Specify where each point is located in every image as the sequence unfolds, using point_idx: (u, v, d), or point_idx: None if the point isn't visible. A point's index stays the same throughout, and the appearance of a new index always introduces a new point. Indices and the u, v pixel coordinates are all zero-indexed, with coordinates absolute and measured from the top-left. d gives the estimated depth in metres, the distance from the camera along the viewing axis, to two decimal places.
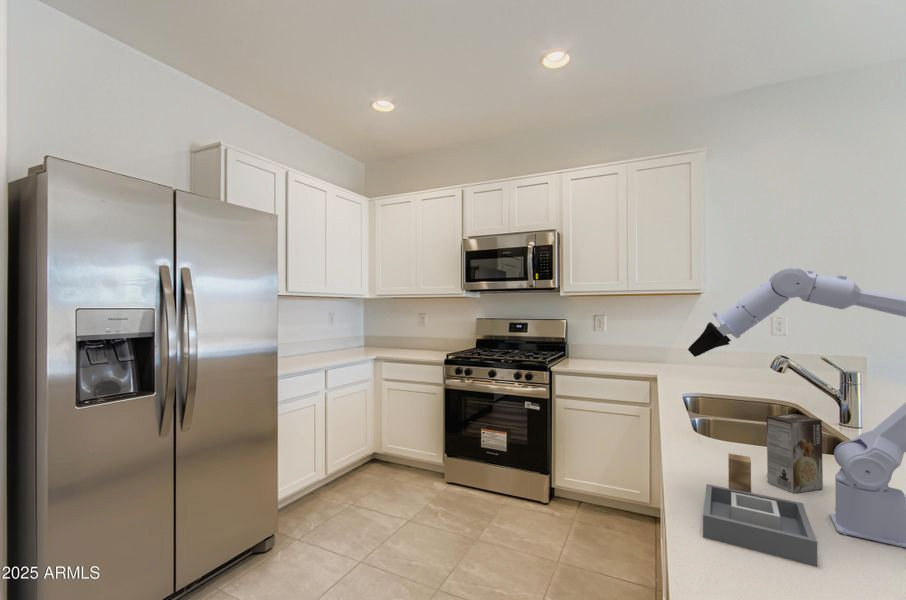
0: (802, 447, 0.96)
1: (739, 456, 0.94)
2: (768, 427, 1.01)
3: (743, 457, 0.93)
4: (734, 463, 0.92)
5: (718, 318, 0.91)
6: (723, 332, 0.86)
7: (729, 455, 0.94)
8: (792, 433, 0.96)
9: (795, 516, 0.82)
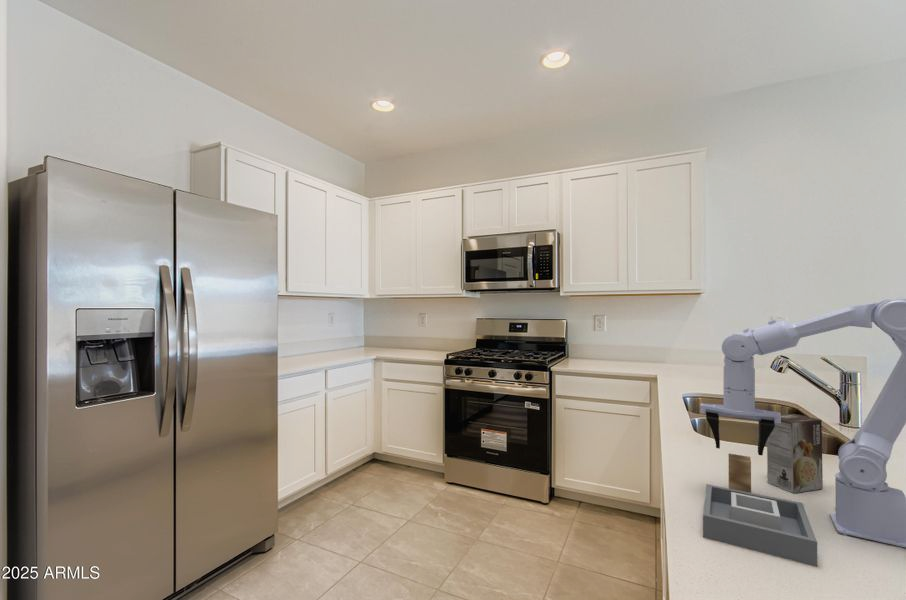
0: (802, 447, 0.96)
1: (739, 456, 0.94)
2: None
3: (743, 457, 0.93)
4: (734, 463, 0.92)
5: None
6: None
7: (730, 455, 0.94)
8: (792, 433, 0.96)
9: (795, 516, 0.82)
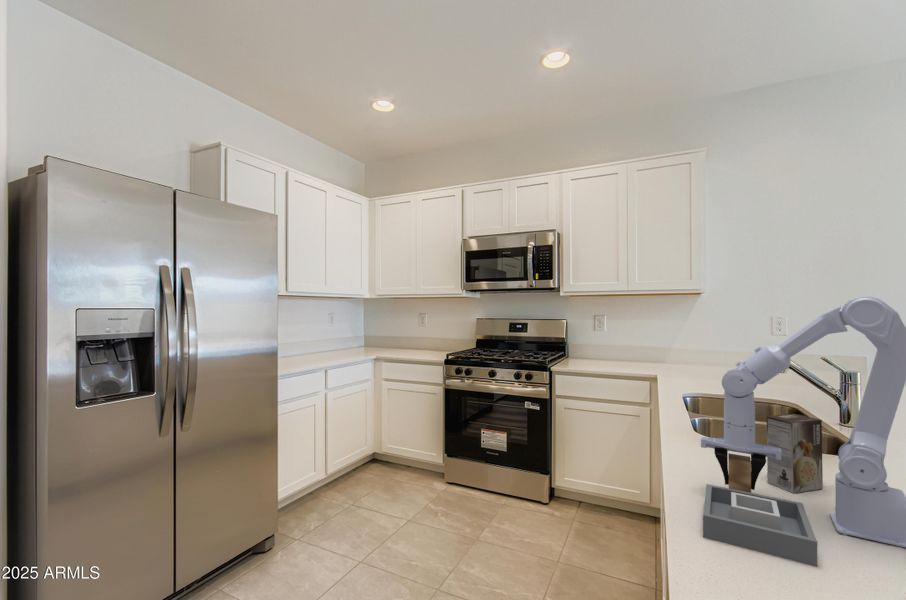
0: (803, 447, 0.96)
1: (739, 456, 0.94)
2: (768, 427, 1.01)
3: (743, 457, 0.93)
4: (734, 463, 0.92)
5: None
6: (701, 444, 0.96)
7: (730, 455, 0.94)
8: (792, 433, 0.96)
9: (795, 516, 0.82)
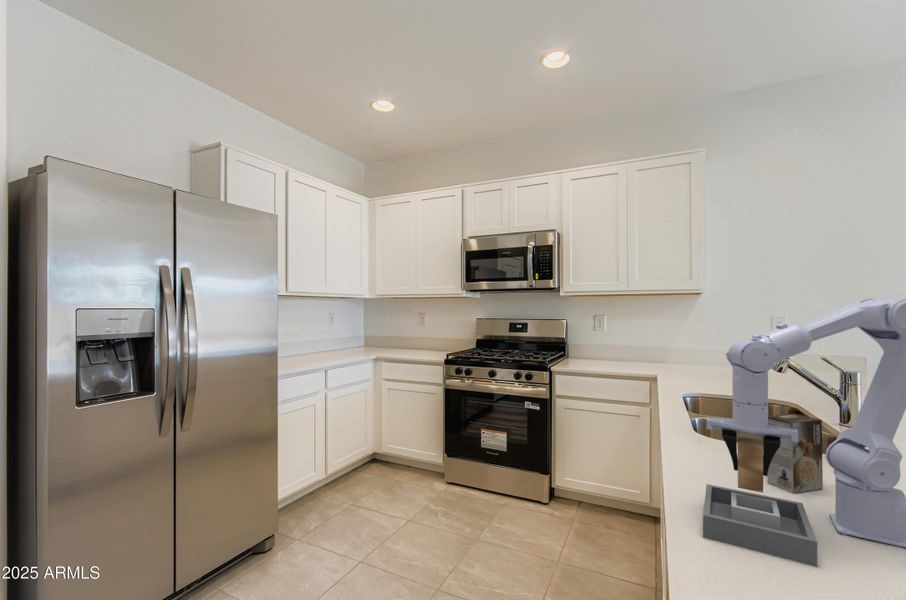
0: (803, 447, 0.96)
1: (749, 439, 0.84)
2: None
3: (754, 440, 0.83)
4: (744, 446, 0.82)
5: None
6: (707, 426, 0.87)
7: (739, 438, 0.85)
8: None
9: (795, 516, 0.82)
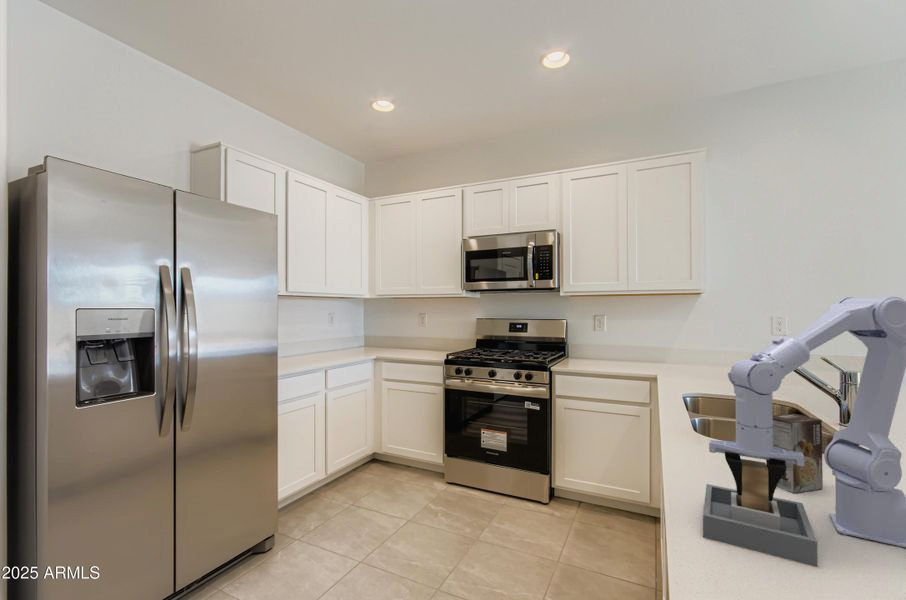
0: (803, 447, 0.96)
1: (753, 462, 0.81)
2: None
3: (758, 463, 0.81)
4: (748, 470, 0.79)
5: None
6: (709, 449, 0.83)
7: (742, 461, 0.82)
8: (792, 433, 0.96)
9: (795, 516, 0.82)
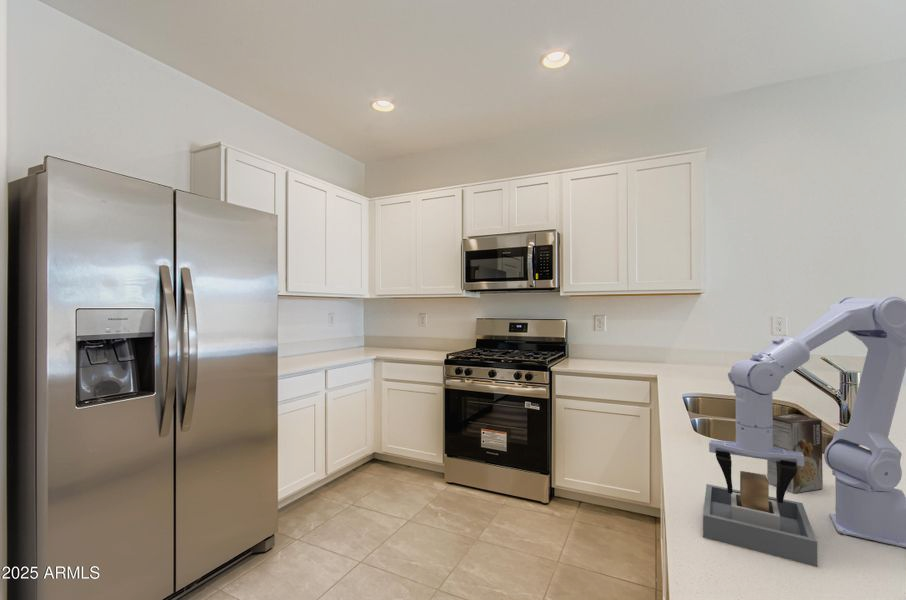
0: (803, 447, 0.96)
1: (753, 474, 0.81)
2: None
3: (758, 475, 0.81)
4: (748, 483, 0.79)
5: None
6: (709, 449, 0.83)
7: (742, 473, 0.82)
8: (792, 433, 0.96)
9: (795, 516, 0.82)
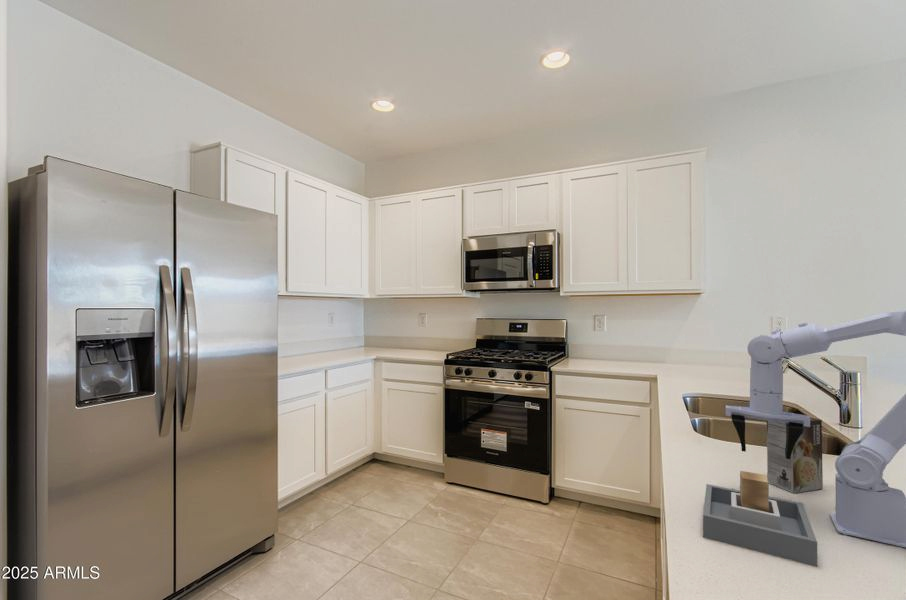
0: (803, 447, 0.96)
1: (753, 474, 0.81)
2: (768, 427, 1.01)
3: (758, 475, 0.81)
4: (748, 483, 0.79)
5: None
6: None
7: (742, 473, 0.82)
8: None
9: (795, 516, 0.82)
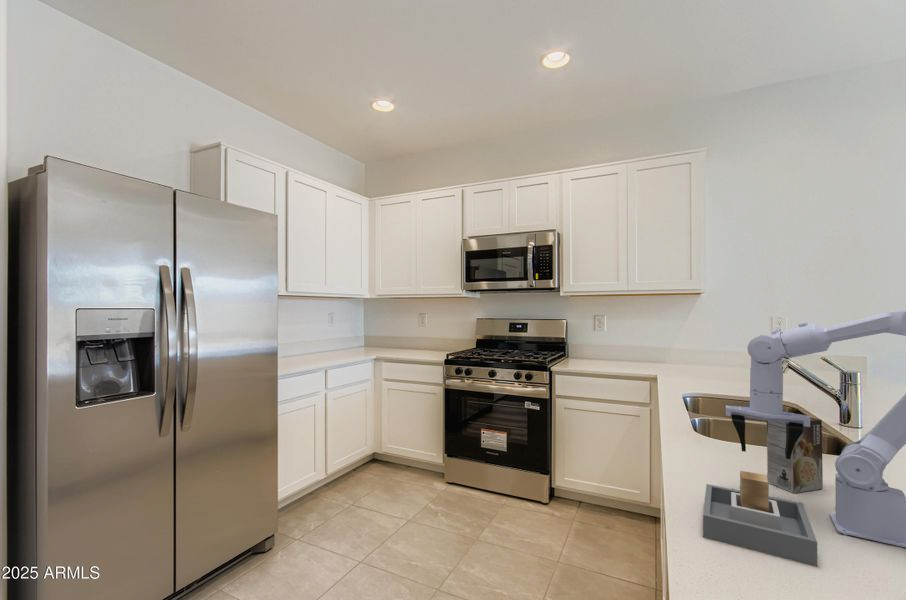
0: (803, 447, 0.96)
1: (753, 474, 0.81)
2: (768, 427, 1.01)
3: (758, 475, 0.81)
4: (748, 483, 0.79)
5: None
6: None
7: (742, 473, 0.82)
8: None
9: (795, 516, 0.82)
